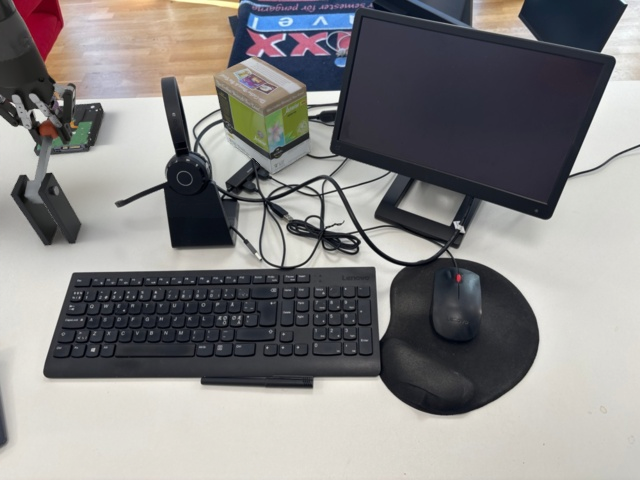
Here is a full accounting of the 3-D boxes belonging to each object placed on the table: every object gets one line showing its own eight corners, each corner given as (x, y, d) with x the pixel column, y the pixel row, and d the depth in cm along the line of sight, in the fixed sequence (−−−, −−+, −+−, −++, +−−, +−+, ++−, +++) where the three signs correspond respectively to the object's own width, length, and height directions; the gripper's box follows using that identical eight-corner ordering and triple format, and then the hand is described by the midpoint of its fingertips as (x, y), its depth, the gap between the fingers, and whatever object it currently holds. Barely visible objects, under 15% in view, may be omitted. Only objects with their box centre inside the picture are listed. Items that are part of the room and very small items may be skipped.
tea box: (312, 152, 100) (308, 84, 89) (272, 176, 96) (262, 108, 84) (264, 119, 107) (254, 52, 96) (225, 140, 103) (210, 74, 92)
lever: (46, 129, 87) (37, 116, 84) (65, 127, 87) (56, 114, 84) (30, 206, 80) (18, 194, 77) (51, 204, 80) (40, 193, 77)
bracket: (50, 219, 90) (15, 163, 81) (96, 216, 91) (66, 159, 81) (33, 264, 84) (-8, 208, 74) (83, 260, 84) (48, 204, 74)
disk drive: (56, 117, 111) (38, 161, 101) (50, 106, 109) (32, 150, 99) (105, 112, 111) (92, 156, 102) (100, 101, 109) (86, 144, 99)
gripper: (62, 29, 76) (103, 126, 89) (-35, 35, 76) (20, 131, 89) (47, 56, 71) (93, 154, 84) (-56, 62, 71) (6, 160, 84)
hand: (56, 142), depth 86 cm, fingers closed on lever, 3 cm apart
